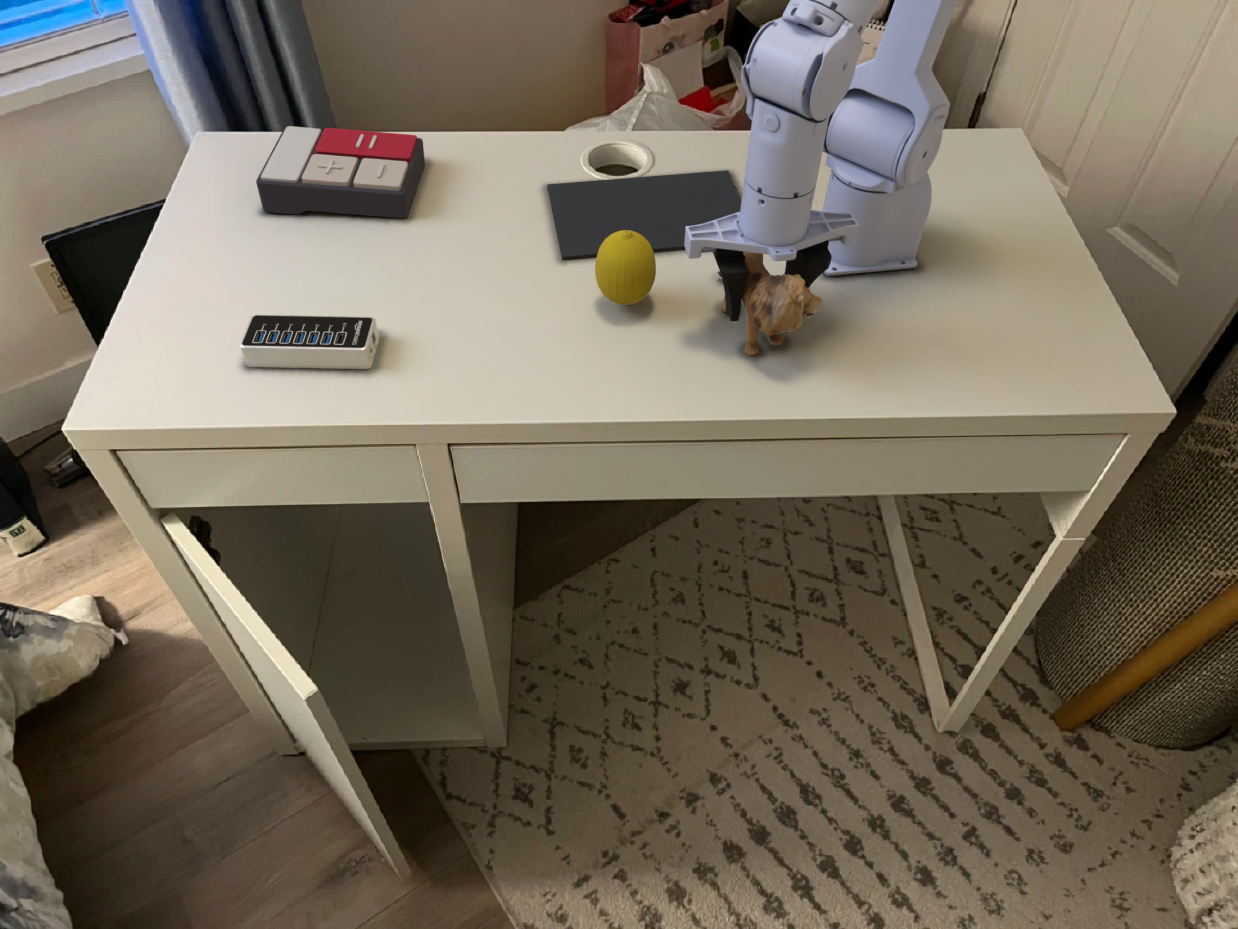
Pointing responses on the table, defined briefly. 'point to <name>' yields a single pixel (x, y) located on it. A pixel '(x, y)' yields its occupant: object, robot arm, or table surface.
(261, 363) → the multiport hub
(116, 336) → the table surface
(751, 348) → the lion figurine
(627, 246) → the lemon
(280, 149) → the button control box
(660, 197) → the desk mat
